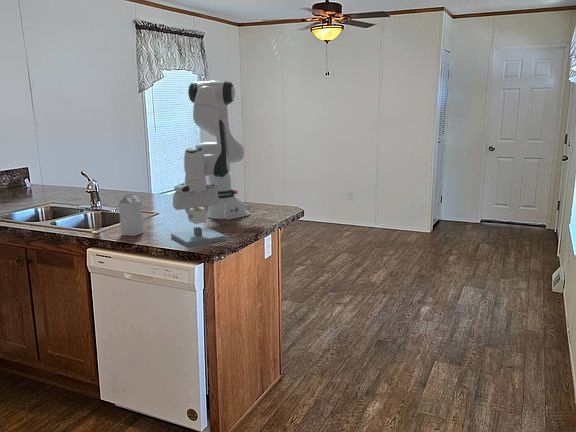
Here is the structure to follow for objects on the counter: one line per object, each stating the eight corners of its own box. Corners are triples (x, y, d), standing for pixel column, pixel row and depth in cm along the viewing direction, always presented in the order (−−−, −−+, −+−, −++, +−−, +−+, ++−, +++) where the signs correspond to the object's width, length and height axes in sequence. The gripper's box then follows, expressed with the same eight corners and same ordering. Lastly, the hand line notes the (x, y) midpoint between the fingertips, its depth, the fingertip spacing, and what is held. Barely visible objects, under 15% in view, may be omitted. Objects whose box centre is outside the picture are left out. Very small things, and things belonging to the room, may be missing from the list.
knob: (199, 219, 225) (198, 205, 224) (206, 222, 219) (205, 208, 218) (188, 221, 222) (188, 207, 221) (195, 223, 217) (194, 209, 215)
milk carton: (121, 235, 231) (117, 194, 227) (131, 231, 237) (128, 191, 233) (134, 236, 228) (130, 194, 224) (143, 232, 235) (140, 192, 231)
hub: (208, 232, 235) (207, 221, 234) (225, 240, 220) (225, 229, 219) (171, 237, 225) (170, 226, 224) (187, 246, 211) (186, 235, 210)
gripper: (214, 183, 226) (215, 213, 229) (170, 187, 215) (172, 219, 218) (220, 184, 221) (222, 215, 224) (176, 189, 210) (177, 221, 213)
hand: (197, 217), depth 221 cm, fingers closed on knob, 5 cm apart
